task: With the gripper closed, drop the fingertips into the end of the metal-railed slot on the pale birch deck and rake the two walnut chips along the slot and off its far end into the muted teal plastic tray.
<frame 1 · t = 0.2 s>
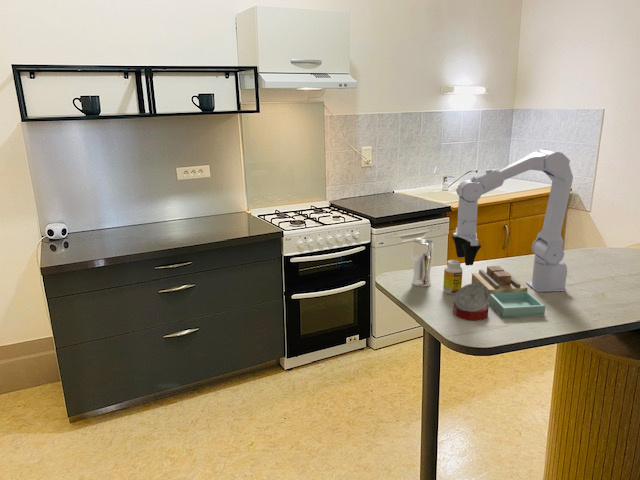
hand: (464, 260, 155), 10 cm above the table, tool pointing down, fingers open, 7 cm apart
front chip: (501, 282, 153), point 4 cm above the table, touching slot deck
supplement bottle: (452, 292, 157), on the table
tray: (515, 308, 144), on the table
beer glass: (421, 284, 164), on the table
canned food: (470, 314, 142), on the table
rear chip: (494, 276, 157), point 4 cm above the table, touching slot deck
slot deck: (497, 292, 156), on the table
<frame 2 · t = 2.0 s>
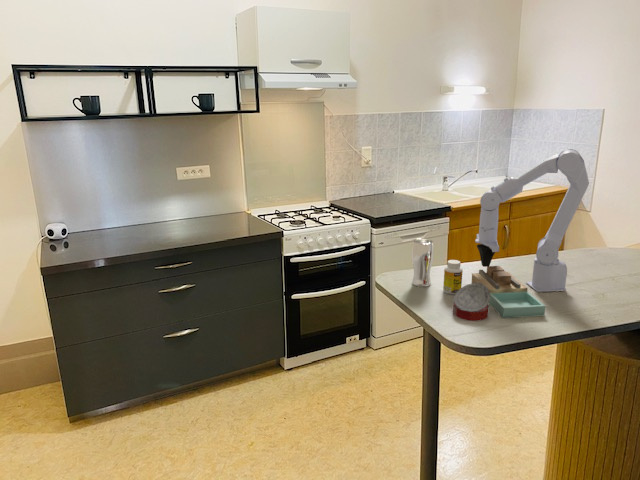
hand: (485, 265, 165), 5 cm above the table, tool pointing down, fingers closed
nothing on the table moved.
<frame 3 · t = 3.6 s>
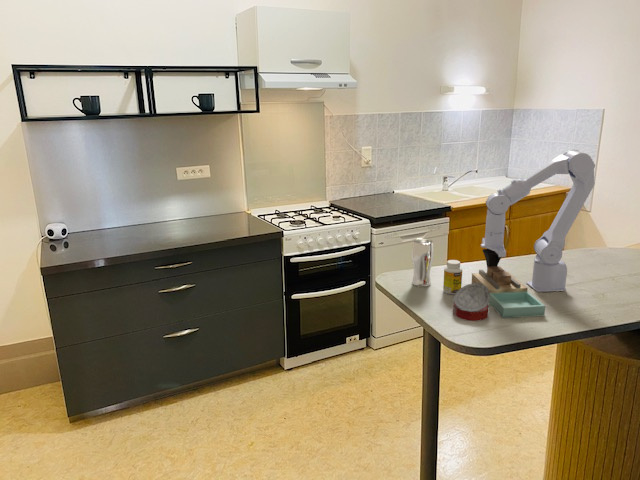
hand: (491, 271, 160), 5 cm above the table, tool pointing down, fingers closed
rear chip: (495, 277, 157), point 4 cm above the table, touching gripper
everything else where it was.
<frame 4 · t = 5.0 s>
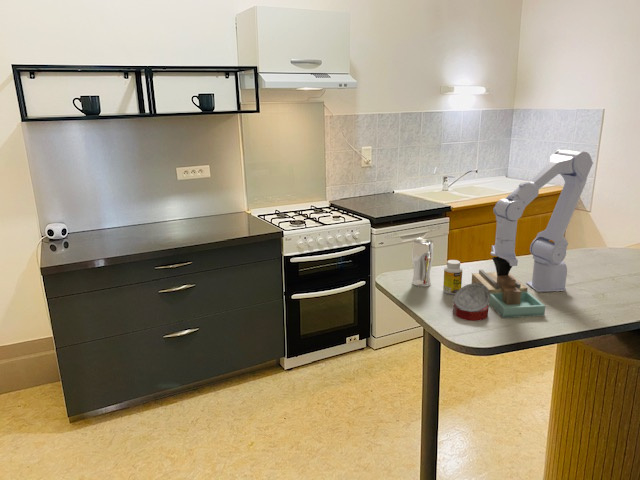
hand: (501, 280, 152), 5 cm above the table, tool pointing down, fingers closed
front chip: (509, 294, 147), point 3 cm above the table, tilted 90°, touching tray
rear chip: (505, 286, 149), point 4 cm above the table, touching gripper
everything else where it was.
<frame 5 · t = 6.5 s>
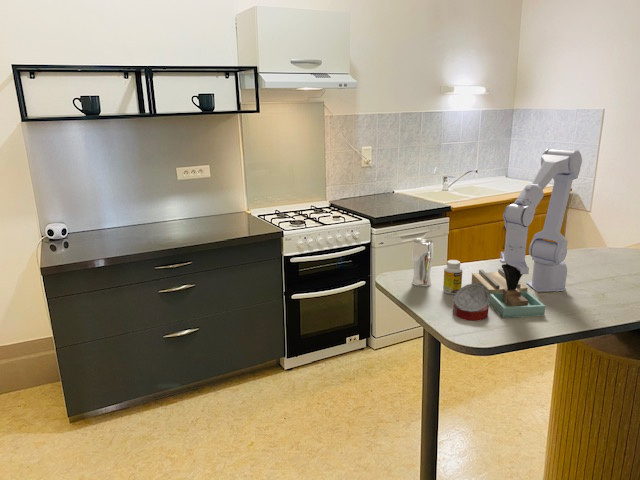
hand: (511, 288, 146), 5 cm above the table, tool pointing down, fingers closed
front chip: (518, 298, 141), point 4 cm above the table, tilted 180°, touching tray
rear chip: (513, 298, 144), point 3 cm above the table, tilted 90°, touching tray
everything else where it was.
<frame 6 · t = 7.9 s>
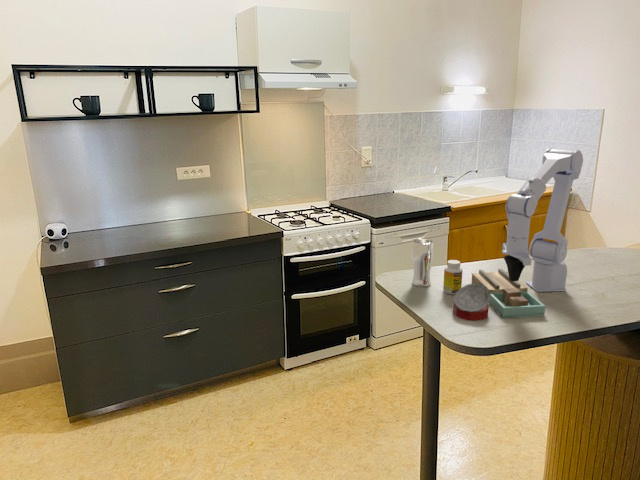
hand: (513, 280, 144), 8 cm above the table, tool pointing down, fingers closed
nothing on the table moved.
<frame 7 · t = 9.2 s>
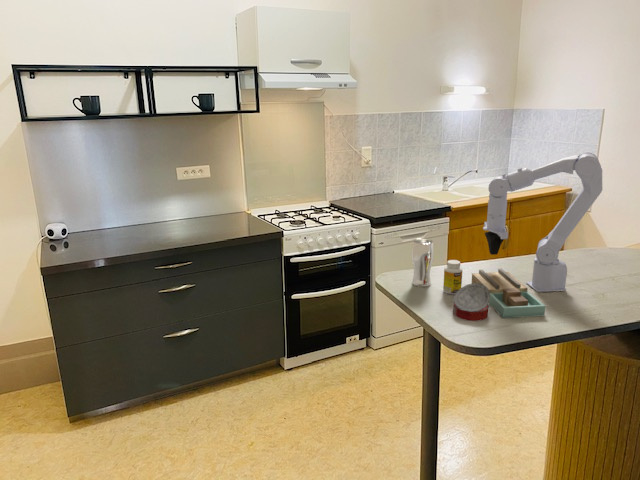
hand: (493, 253, 163), 9 cm above the table, tool pointing down, fingers closed
nothing on the table moved.
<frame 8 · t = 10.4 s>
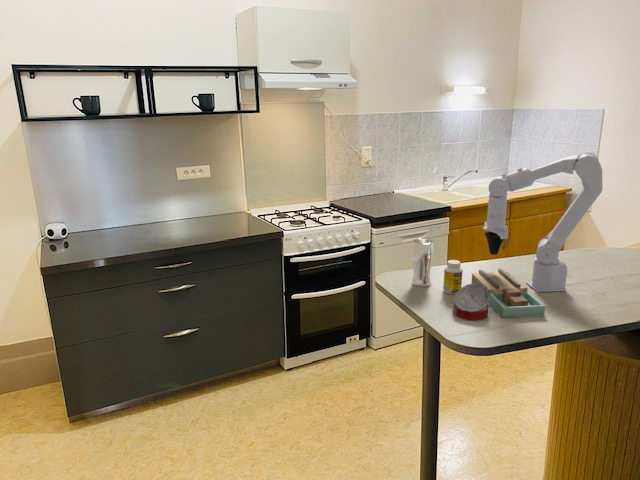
hand: (493, 253, 163), 9 cm above the table, tool pointing down, fingers closed
nothing on the table moved.
at the end: rear chip inside the target area on the tray (1.0 cm from its centre), point 2.8 cm above the tray's base; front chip inside the target area on the tray (1.2 cm from its centre), point 3.8 cm above the tray's base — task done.
